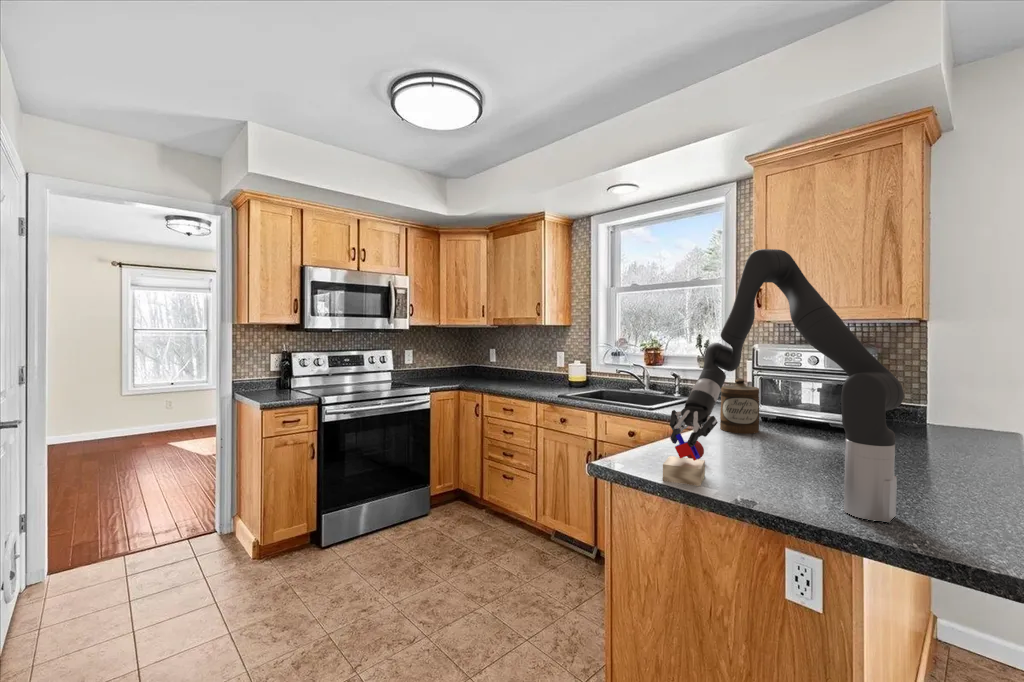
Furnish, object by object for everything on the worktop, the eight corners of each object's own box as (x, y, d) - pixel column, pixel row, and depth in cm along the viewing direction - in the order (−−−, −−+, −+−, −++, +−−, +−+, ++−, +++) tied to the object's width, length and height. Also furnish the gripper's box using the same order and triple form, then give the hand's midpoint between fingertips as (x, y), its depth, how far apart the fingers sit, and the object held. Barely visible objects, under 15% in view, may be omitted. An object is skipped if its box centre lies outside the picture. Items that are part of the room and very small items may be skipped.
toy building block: (686, 461, 141) (674, 435, 143) (700, 456, 139) (687, 430, 141) (682, 464, 138) (670, 437, 140) (696, 459, 136) (683, 432, 138)
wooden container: (722, 432, 200) (723, 379, 199) (718, 425, 214) (719, 375, 213) (762, 435, 195) (763, 380, 195) (755, 427, 209) (756, 376, 209)
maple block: (704, 477, 142) (704, 460, 142) (700, 487, 133) (700, 469, 133) (669, 472, 147) (669, 455, 146) (662, 481, 138) (662, 464, 138)
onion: (691, 464, 153) (692, 439, 153) (680, 460, 159) (681, 435, 159) (707, 463, 155) (707, 438, 155) (696, 458, 160) (696, 434, 160)
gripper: (676, 386, 149) (654, 431, 142) (722, 391, 138) (700, 440, 131) (686, 402, 153) (664, 446, 146) (730, 408, 142) (709, 456, 135)
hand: (681, 443), depth 138 cm, fingers closed on toy building block, 4 cm apart
